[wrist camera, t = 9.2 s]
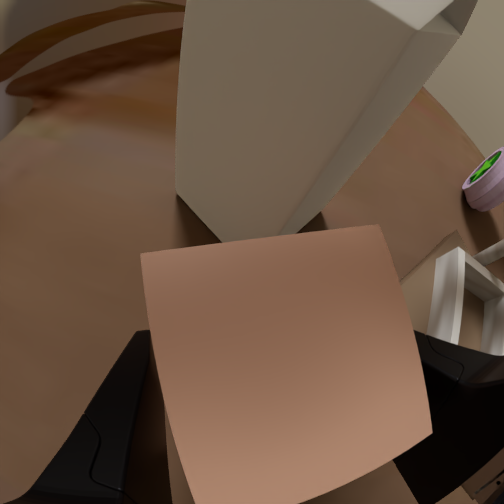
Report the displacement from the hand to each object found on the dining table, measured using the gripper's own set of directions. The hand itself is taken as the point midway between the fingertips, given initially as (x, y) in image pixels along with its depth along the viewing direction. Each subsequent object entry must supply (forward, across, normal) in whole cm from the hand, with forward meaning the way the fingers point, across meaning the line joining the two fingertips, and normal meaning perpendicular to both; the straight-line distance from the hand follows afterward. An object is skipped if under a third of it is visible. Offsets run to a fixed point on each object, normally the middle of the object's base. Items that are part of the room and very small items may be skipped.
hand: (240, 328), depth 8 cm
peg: (+4, 0, +6) cm, 8 cm away
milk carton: (+12, -4, -1) cm, 12 cm away
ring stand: (+3, -18, +8) cm, 20 cm away
